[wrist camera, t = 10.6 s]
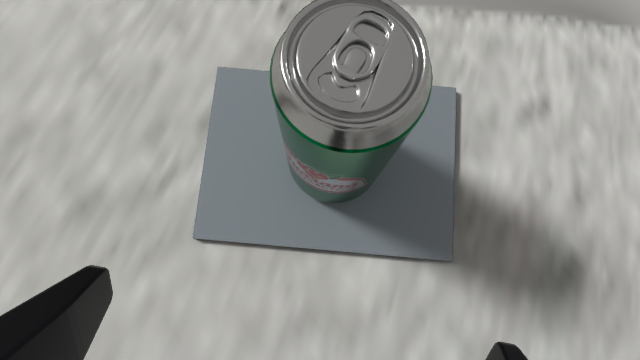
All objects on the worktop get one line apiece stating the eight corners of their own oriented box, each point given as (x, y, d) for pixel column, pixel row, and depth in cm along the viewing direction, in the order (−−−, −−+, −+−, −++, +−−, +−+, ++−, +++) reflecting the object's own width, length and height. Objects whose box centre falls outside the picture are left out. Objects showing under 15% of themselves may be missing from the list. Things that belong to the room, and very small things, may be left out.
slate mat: (453, 90, 25) (456, 87, 25) (450, 261, 23) (452, 261, 23) (219, 69, 25) (217, 66, 25) (194, 238, 23) (192, 238, 23)
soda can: (271, 177, 24) (231, 88, 12) (316, 101, 25) (320, -50, 13) (352, 221, 23) (393, 175, 11) (394, 143, 24) (472, 26, 12)
